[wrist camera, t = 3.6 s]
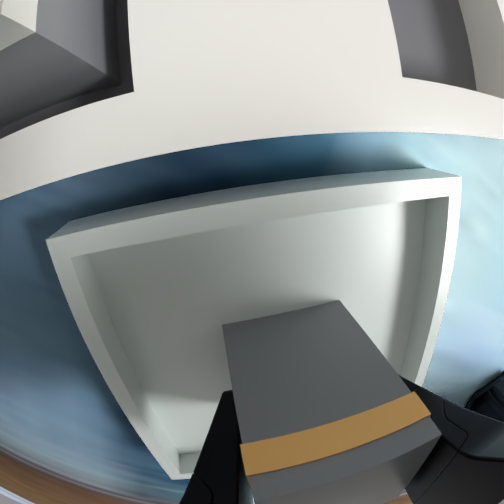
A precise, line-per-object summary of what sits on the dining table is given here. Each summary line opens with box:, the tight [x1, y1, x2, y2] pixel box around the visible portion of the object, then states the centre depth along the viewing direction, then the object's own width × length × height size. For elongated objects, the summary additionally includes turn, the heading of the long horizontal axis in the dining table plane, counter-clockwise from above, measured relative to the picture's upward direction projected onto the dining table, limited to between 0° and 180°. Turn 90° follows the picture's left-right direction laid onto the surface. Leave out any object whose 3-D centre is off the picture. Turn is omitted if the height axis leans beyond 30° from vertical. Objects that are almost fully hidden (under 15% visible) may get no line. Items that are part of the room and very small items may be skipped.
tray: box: [46, 168, 462, 480], centre depth 10 cm, size 12×12×2 cm
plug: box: [222, 300, 442, 504], centre depth 8 cm, size 4×4×6 cm
